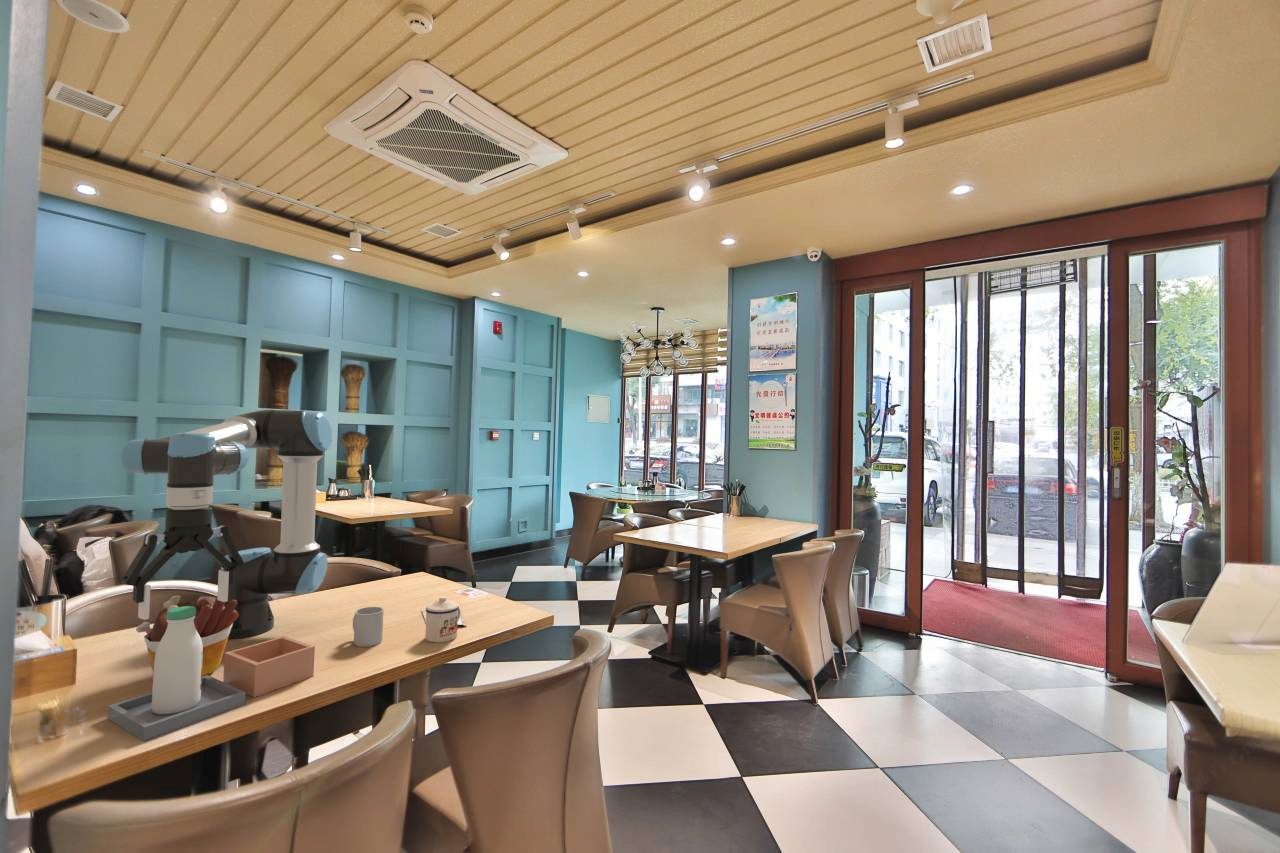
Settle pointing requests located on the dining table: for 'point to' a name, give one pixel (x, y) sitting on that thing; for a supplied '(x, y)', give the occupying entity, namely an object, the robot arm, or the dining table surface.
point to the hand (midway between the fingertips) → (185, 609)
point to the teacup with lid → (442, 620)
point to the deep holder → (268, 665)
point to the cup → (368, 626)
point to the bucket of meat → (197, 628)
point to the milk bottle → (178, 664)
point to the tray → (148, 725)
